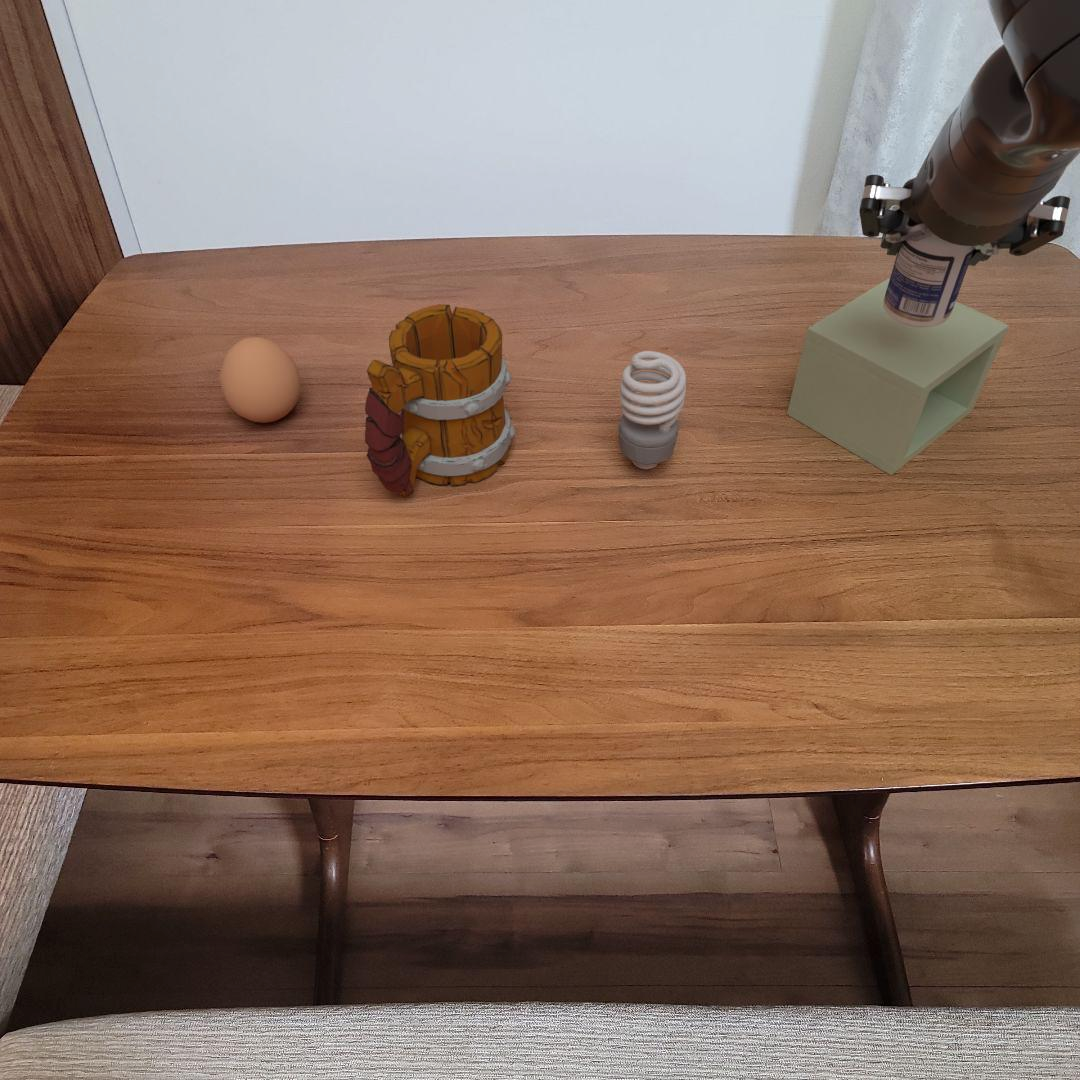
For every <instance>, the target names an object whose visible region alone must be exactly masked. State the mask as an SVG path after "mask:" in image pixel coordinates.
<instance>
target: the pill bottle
mask: <svg viewBox="0 0 1080 1080" xmlns="http://www.w3.org/2000/svg"><path fill="white" fill-rule="evenodd" d="M974 249H975V248H974V246H962V245H956V244H952V243H949V242H947V241H945V240H942V239H941V238H939V237H937V236H936V235H931V236H929V237H926V238H924V239H921V240H919V241H916V242H915V241H911V240H908V239H906V240H904V243H903V245H902V246H901V248H900V250H899V251H898V253H897V254H896V256H895V260H894V264H893V267H892V271H891V274H890V277H889V278H890V280H889V284H888V287H887V290H886V294H885V298H884V302H883V305H884V309H885V311H886V312H887V314H888V315H889V316H891V317H892V318H893V319H895V320H897V321H899V322H901V323H903V324H906V325H910V326H914V327H933V326H937V325H940V324H942V323H943V322H945V321H946V320H947V319H948V318H949V317H950V315H951V312H952V310H953V307H954V305H955V302H956V301H957V298H958V296H959V294H960V290H961V287H962V285H963V282H964V279H965V276H966V273H967V271H968V268H969V266H970V265H969V263H970V260H971V257H972V254H973V252H974Z"/></svg>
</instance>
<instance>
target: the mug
mask: <svg viewBox="0 0 1080 1080" xmlns="http://www.w3.org/2000/svg"><path fill="white" fill-rule="evenodd" d="M503 336H504V335H503V332H502V329H501V326H500V325H499V324H497V323H496V321H495V319H494V318H492V317H491V316H488V315H486V314H485V313H484V312H482V311H479V310H476V309H471V308H468V307H460V306H455V307H454V308H453V311H452V309H451V305H450V304H442V303H441V304H435V305H430V306H427V307H423V308H420V309H418V310H415V311H413V312H411V313H409V314H408V315H406V316H405V317H404V319H402V320H400V321H399V322H398V323H397V324H395V329H393V330H391V332H390V334H389V336H388V347H389V352H390V359H391V364H389V363H386V362H383V361H382V360H379V359H373V360H371V362H370V363H369V365H368V368H367V370H366V373H367V377H368V379H369V381H370V384H371V387H369V389H368V393H367V396H366V399H365V406H364V411H365V414H366V415H367V417H365V428H364V442H365V444H366V445H367V446H368V448H367V454H366V457H367V460H368V461H369V463H370V467H371V470H372V472H373V473H374V474H375V475H376V476H377V478H378V479H379V482H380V483H381V484H382V486H383V487H384V489H386V490H387V491H389V492H391V493H392V494H397V495H398V496H401V497H407V496H408V495H409V494H410V493H411V494H413V493H414V487H415V484H416V478H418V479H421V480H423V481H425V482H427V483H428V484H433V485H436V486H448V485H449V484H450V485H451V486H452V487H455V486H465V485H466V484H467V482H469V483H474V484H475V483H478V482H480V481H483V480H484V479H487V478H489V477H491V476H492V475H493V474H495V473H496V472H497V471H498V470H499V466H500V465H504V464H505V463H506V461H507V459H508V457H509V453H510V449H511V443H512V439H514V438H515V436H516V430H515V427H514V426H512V420H511V417H510V414H509V412H508V410H507V408H506V407H505V399H504V394H505V392H506V390H507V386H509V385H510V384H511V381H512V375H511V374H510V371H508V368H507V363H506V359H505V357H504V356H503Z"/></svg>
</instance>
